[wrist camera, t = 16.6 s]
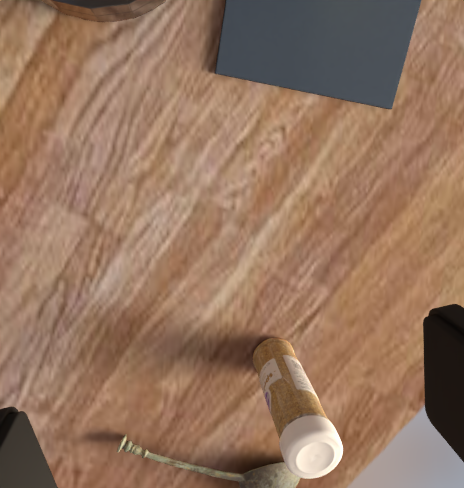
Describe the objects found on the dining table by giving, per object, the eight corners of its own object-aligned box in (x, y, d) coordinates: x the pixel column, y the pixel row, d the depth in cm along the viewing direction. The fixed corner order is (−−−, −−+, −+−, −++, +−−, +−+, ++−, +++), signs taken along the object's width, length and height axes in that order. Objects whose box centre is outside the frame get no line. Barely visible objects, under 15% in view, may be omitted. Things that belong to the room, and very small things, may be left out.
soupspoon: (283, 496, 50) (307, 453, 48) (292, 521, 46) (318, 476, 45) (109, 460, 43) (131, 410, 42) (106, 487, 40) (129, 433, 39)
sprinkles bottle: (245, 346, 42) (277, 447, 29) (286, 329, 42) (335, 423, 29) (260, 380, 43) (296, 490, 30) (299, 363, 43) (351, 467, 31)
